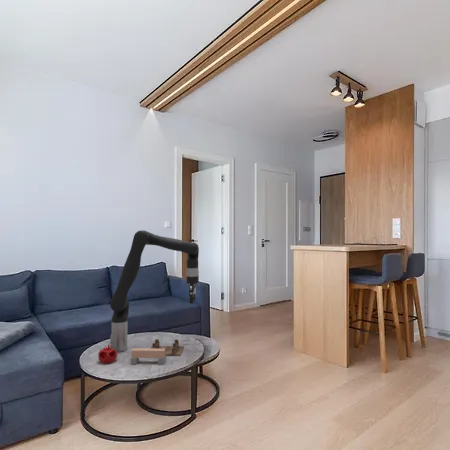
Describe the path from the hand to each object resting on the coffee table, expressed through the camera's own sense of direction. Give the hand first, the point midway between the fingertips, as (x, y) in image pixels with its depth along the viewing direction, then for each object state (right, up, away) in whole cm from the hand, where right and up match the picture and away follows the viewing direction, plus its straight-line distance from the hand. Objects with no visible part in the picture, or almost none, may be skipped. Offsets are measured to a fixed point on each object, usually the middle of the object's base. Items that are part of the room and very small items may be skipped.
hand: (192, 301), depth 206 cm
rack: (-16, -29, -3) cm, 33 cm away
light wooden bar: (-22, -26, -20) cm, 40 cm away
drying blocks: (-22, -29, -20) cm, 42 cm away
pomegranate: (-45, -29, -18) cm, 57 cm away
